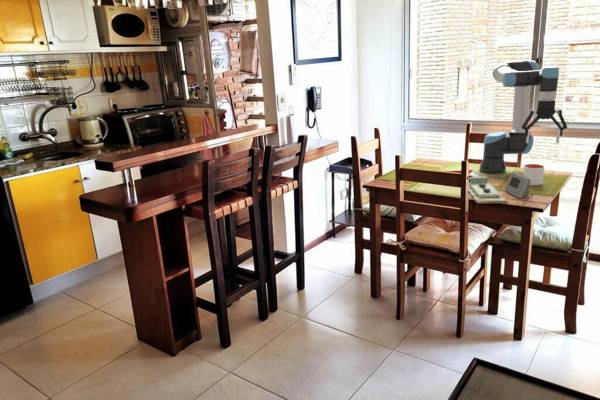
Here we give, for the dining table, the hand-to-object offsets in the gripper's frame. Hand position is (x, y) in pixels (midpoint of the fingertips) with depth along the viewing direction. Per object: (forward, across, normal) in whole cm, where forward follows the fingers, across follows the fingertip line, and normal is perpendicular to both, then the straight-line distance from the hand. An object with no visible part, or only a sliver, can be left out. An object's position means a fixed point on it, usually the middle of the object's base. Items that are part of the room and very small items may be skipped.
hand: (542, 142), depth 228 cm
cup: (+27, +1, +17) cm, 31 cm away
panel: (+25, -26, -4) cm, 36 cm away
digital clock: (+26, -10, -4) cm, 29 cm away
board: (+26, -26, -6) cm, 37 cm away
